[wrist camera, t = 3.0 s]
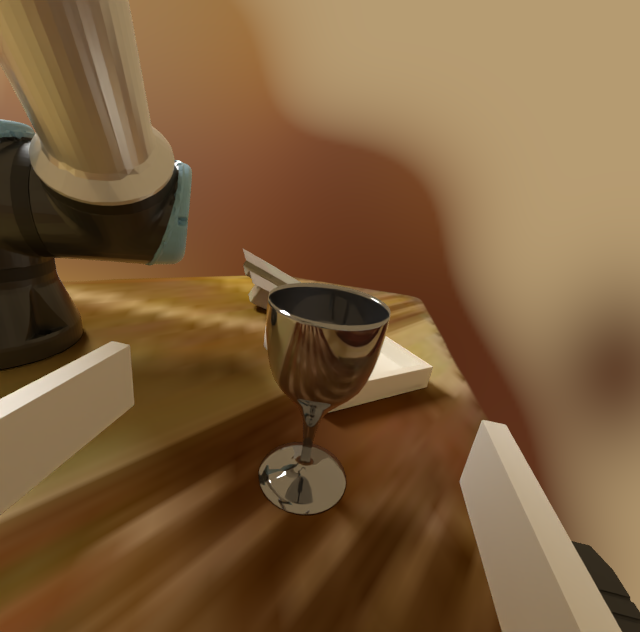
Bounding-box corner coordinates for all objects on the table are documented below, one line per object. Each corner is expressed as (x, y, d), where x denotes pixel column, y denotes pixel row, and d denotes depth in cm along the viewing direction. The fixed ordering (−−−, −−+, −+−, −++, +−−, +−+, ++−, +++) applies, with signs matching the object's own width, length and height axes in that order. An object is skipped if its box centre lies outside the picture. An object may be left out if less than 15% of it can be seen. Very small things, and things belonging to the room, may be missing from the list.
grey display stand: (273, 307, 72) (222, 263, 64) (303, 282, 71) (255, 232, 62) (290, 354, 59) (228, 305, 50) (327, 323, 58) (270, 268, 49)
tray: (263, 345, 46) (265, 326, 45) (354, 334, 55) (358, 317, 53) (319, 415, 34) (323, 390, 33) (426, 387, 42) (432, 366, 41)
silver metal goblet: (257, 528, 22) (277, 324, 17) (249, 442, 29) (261, 279, 24) (366, 511, 24) (414, 327, 19) (334, 435, 31) (363, 285, 26)
